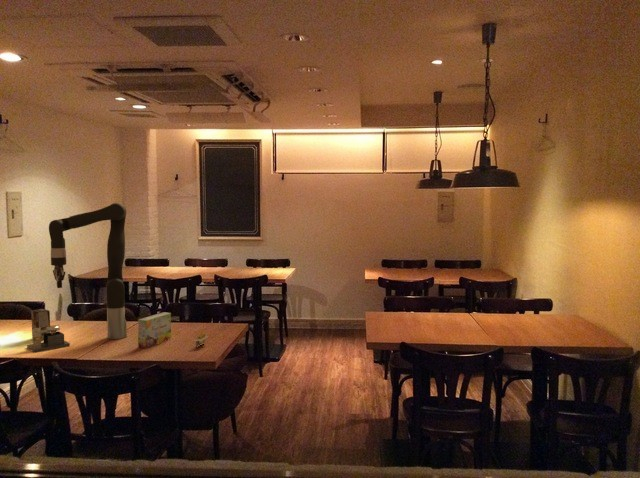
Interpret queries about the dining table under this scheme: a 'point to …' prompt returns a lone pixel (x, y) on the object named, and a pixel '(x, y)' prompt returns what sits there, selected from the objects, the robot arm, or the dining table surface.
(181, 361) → the dining table surface
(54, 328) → the plunger
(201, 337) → the pale green irregular piece
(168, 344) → the dining table surface
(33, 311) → the coffee box
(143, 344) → the snack box
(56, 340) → the stand
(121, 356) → the dining table surface
